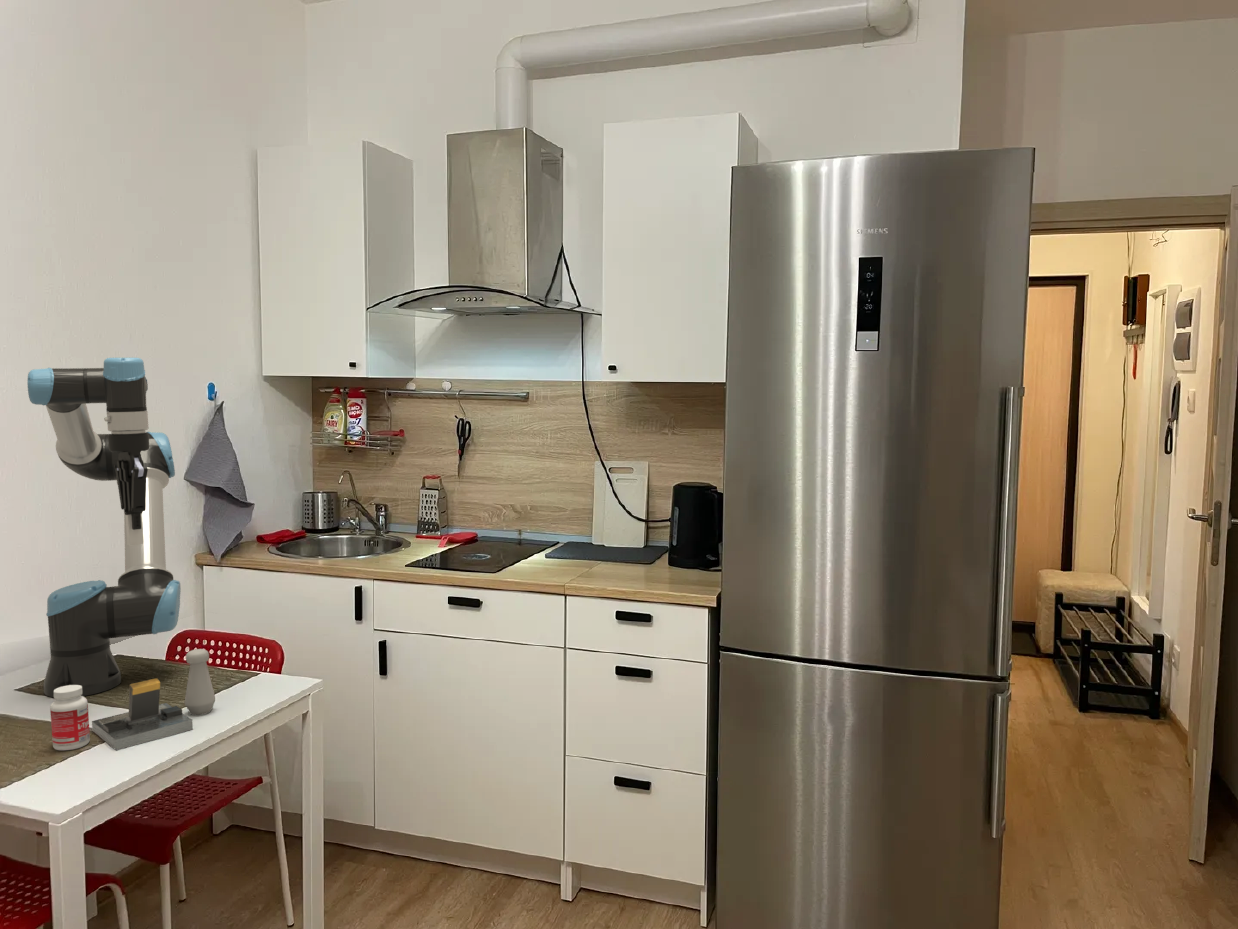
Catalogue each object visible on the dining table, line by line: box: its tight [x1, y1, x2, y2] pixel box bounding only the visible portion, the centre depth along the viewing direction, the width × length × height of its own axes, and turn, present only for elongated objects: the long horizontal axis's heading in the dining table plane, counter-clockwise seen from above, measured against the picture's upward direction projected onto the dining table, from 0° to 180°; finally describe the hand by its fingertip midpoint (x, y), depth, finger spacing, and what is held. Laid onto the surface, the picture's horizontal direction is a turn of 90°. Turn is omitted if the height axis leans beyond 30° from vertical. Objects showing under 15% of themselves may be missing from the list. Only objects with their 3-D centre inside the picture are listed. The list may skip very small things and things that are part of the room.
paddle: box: [126, 677, 161, 724], centre depth 184 cm, size 2×6×8 cm, turn 136°
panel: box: [91, 702, 194, 751], centre depth 186 cm, size 14×14×3 cm
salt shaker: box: [184, 648, 216, 716], centre depth 196 cm, size 6×6×13 cm
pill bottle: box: [49, 685, 91, 751], centre depth 179 cm, size 6×6×11 cm
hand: (135, 544), depth 198 cm, fingers closed
